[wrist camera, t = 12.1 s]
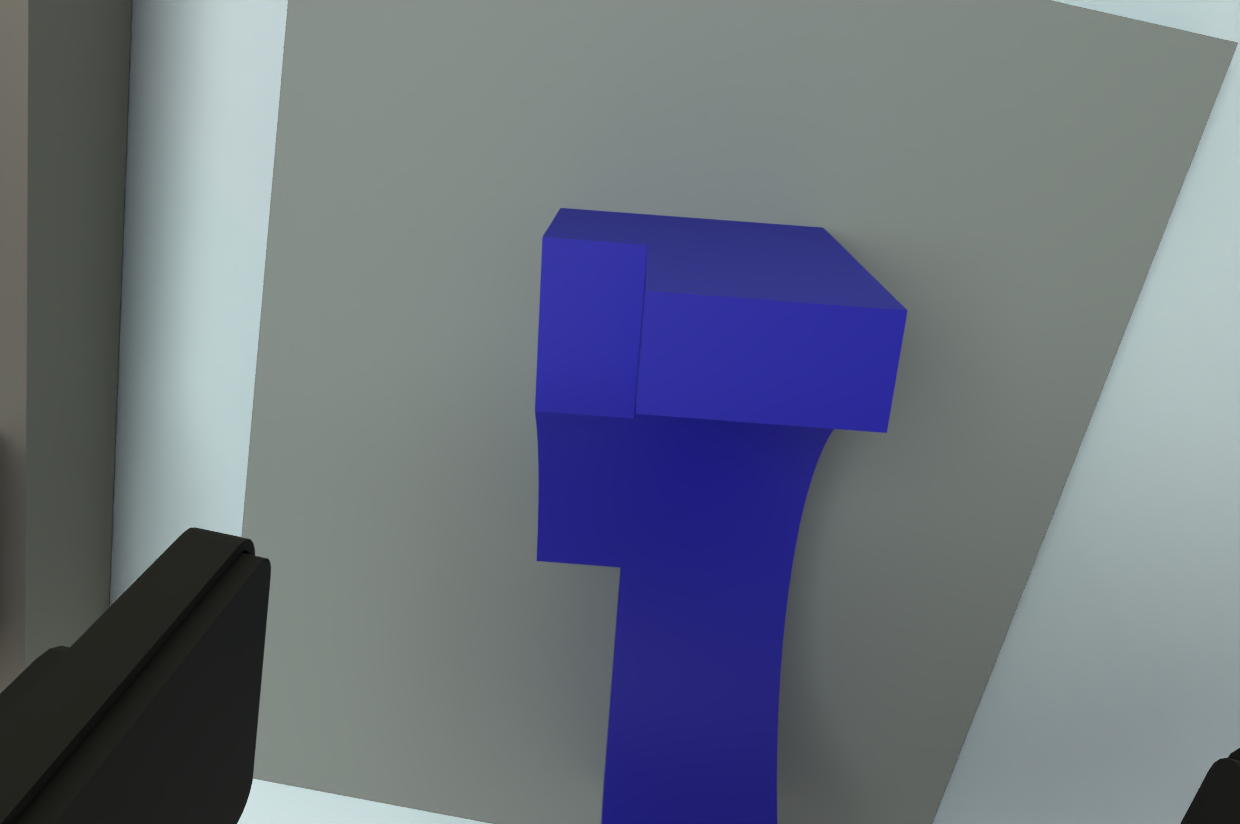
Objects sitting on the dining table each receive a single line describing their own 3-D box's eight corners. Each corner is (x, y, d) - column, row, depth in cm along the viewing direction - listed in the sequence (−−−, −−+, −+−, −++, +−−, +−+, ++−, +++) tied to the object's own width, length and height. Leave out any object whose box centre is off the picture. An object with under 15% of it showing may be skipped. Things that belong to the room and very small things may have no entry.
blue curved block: (560, 207, 17) (515, 281, 11) (822, 227, 17) (907, 310, 11) (532, 779, 21) (488, 1043, 15) (744, 796, 21) (779, 1066, 15)
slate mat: (1205, 43, 17) (1238, 42, 16) (891, 866, 23) (901, 900, 22) (323, -156, 16) (302, -169, 15) (239, 742, 22) (220, 772, 21)
